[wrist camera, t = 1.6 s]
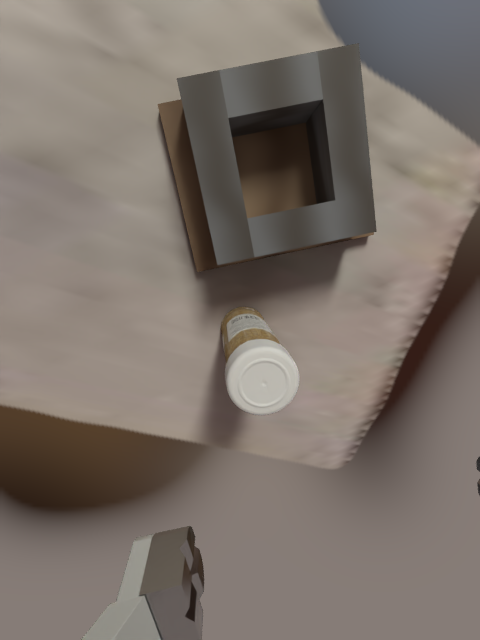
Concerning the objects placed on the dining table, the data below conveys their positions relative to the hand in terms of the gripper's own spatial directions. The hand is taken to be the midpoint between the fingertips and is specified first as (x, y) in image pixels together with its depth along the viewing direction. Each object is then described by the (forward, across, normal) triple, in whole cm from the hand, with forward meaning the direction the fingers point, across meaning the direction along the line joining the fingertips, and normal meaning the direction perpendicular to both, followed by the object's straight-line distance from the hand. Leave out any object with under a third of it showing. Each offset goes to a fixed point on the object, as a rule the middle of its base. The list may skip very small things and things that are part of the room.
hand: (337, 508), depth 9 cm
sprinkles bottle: (+24, +1, +1) cm, 24 cm away
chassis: (+24, -4, -13) cm, 27 cm away
